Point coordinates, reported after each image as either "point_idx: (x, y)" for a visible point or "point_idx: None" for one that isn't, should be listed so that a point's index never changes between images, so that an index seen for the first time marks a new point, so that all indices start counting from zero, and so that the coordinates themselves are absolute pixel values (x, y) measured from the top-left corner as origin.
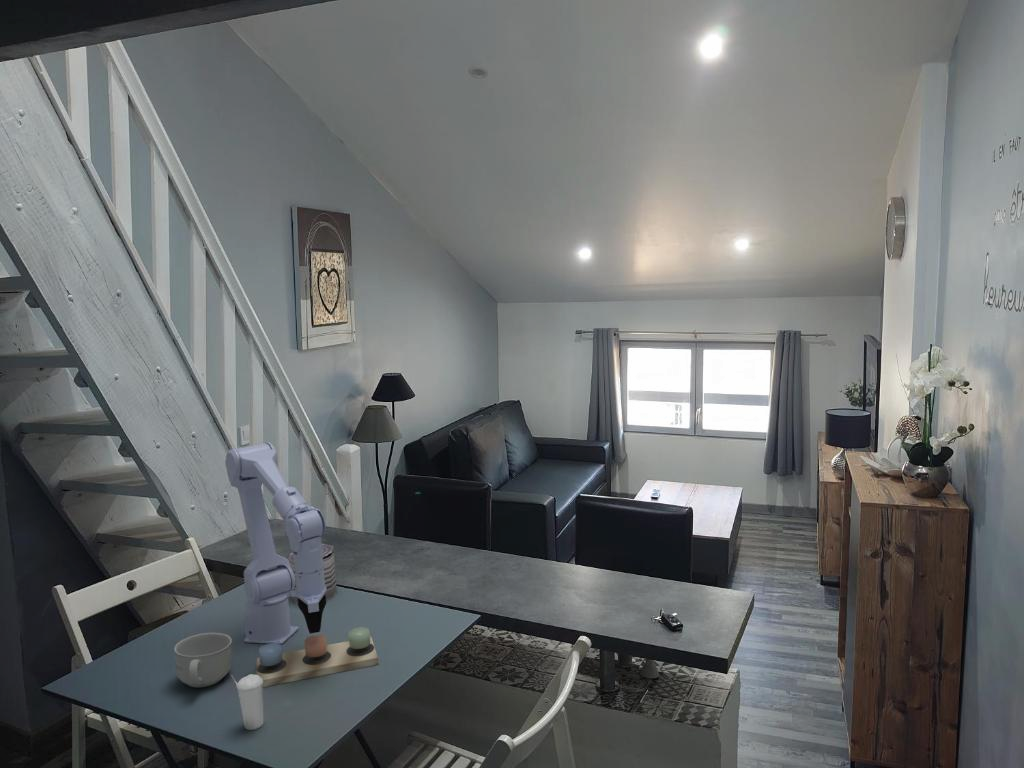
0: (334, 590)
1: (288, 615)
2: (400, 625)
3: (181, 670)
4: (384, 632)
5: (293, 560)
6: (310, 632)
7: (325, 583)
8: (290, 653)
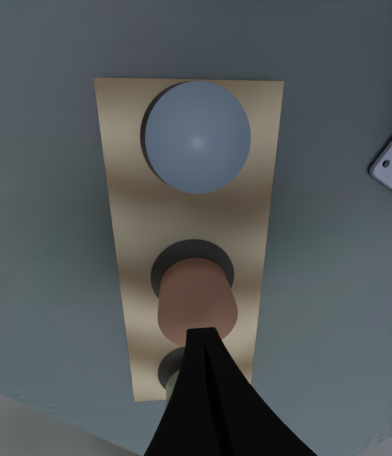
0: None
1: None
2: (296, 421)
3: None
4: (282, 397)
5: None
6: (186, 335)
7: None
8: (258, 203)
